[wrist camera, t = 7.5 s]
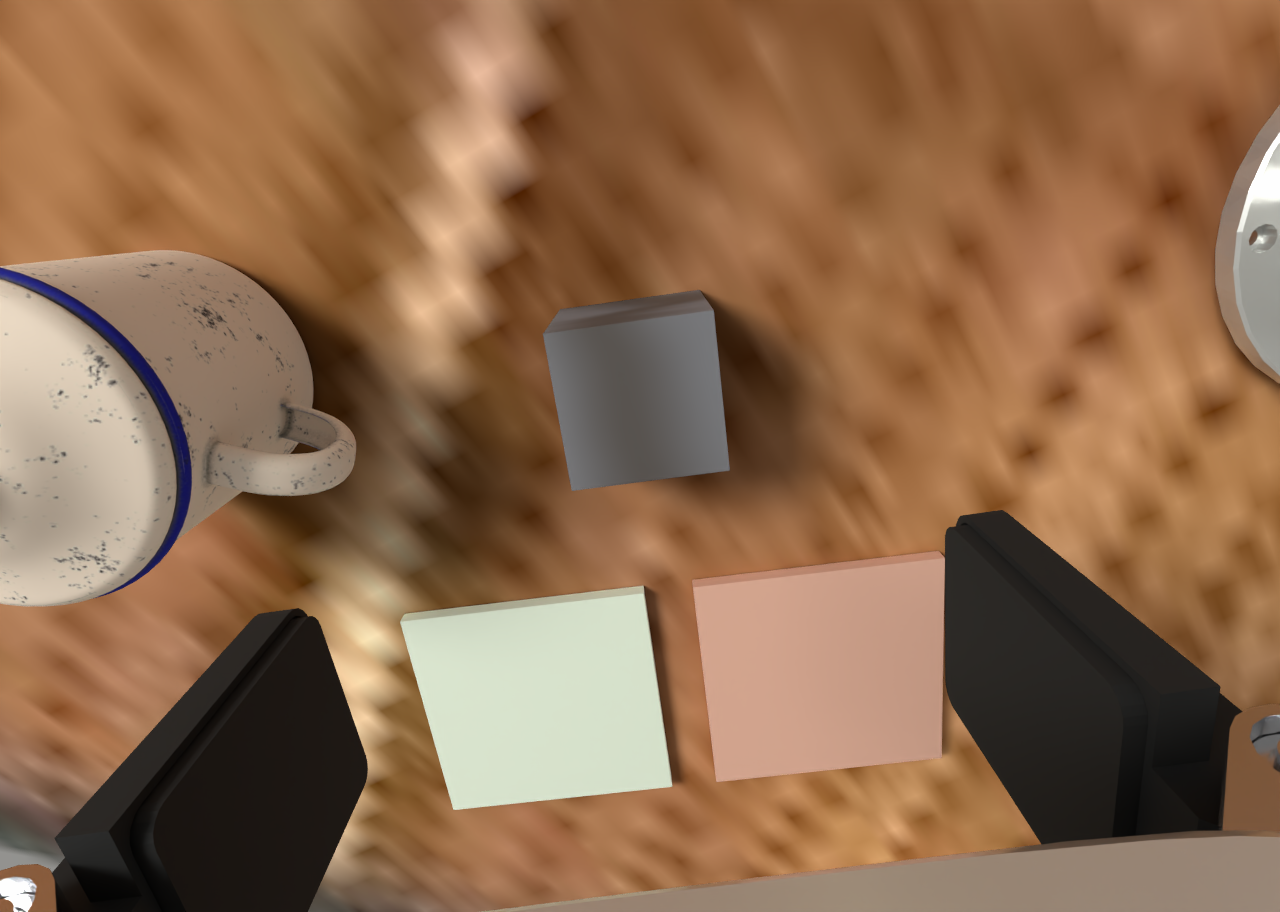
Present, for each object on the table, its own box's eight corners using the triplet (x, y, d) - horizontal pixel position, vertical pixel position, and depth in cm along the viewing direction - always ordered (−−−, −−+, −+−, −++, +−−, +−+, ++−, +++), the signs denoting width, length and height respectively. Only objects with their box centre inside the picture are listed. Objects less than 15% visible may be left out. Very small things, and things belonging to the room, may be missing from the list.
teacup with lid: (72, 457, 27) (-311, 631, 16) (66, 212, 24) (-408, 221, 13) (387, 524, 28) (228, 731, 17) (419, 298, 25) (250, 372, 14)
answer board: (938, 551, 29) (944, 557, 28) (936, 748, 32) (941, 757, 31) (404, 613, 29) (400, 621, 29) (456, 799, 33) (453, 809, 32)
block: (699, 289, 25) (713, 310, 20) (713, 422, 27) (729, 470, 22) (560, 309, 25) (542, 333, 21) (583, 440, 27) (572, 490, 22)
